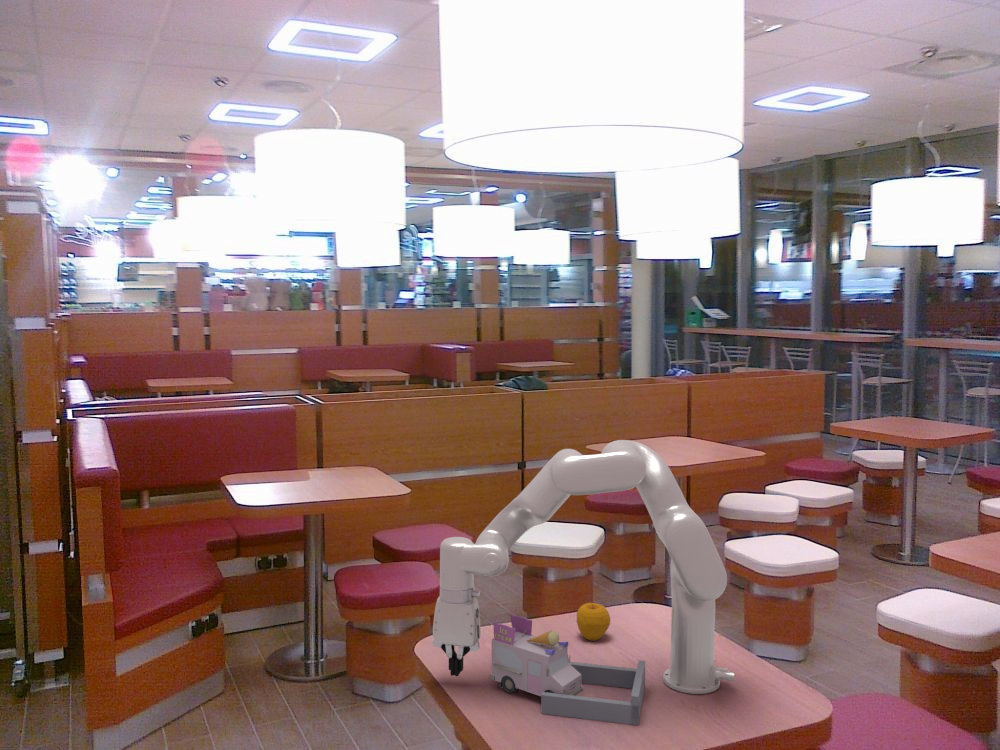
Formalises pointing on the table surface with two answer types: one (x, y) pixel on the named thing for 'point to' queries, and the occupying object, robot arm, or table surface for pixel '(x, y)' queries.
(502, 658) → the toy vehicle
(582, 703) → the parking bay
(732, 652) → the table surface
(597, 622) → the apple
